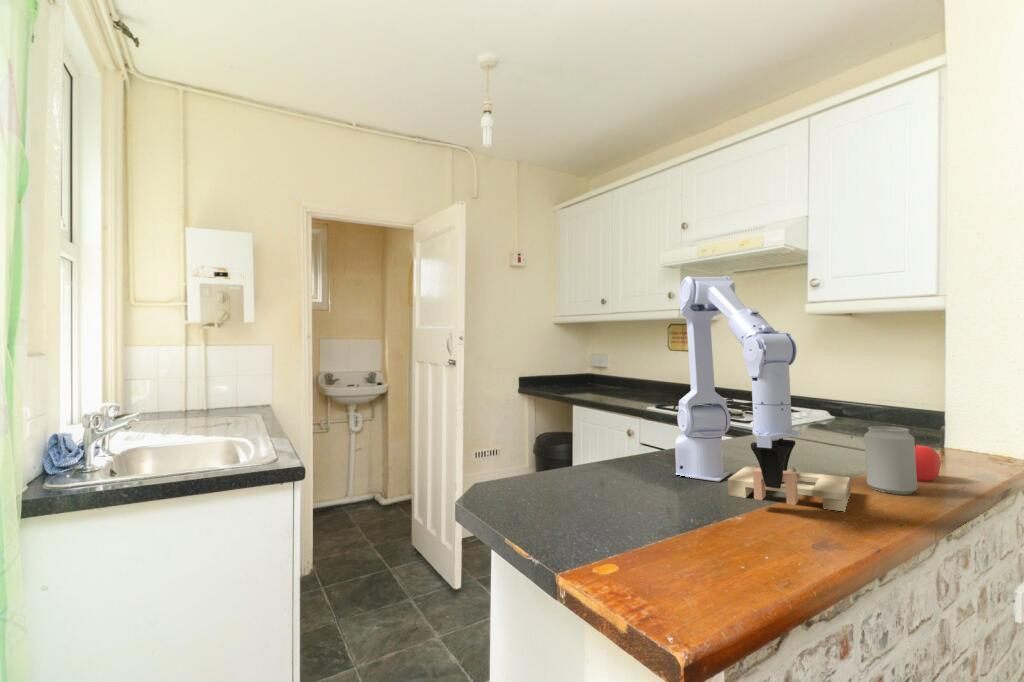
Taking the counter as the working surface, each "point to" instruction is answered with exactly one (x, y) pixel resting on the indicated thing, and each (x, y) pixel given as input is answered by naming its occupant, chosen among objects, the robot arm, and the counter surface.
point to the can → (890, 460)
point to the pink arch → (787, 477)
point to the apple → (926, 463)
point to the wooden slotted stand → (798, 487)
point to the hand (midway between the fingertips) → (775, 485)
